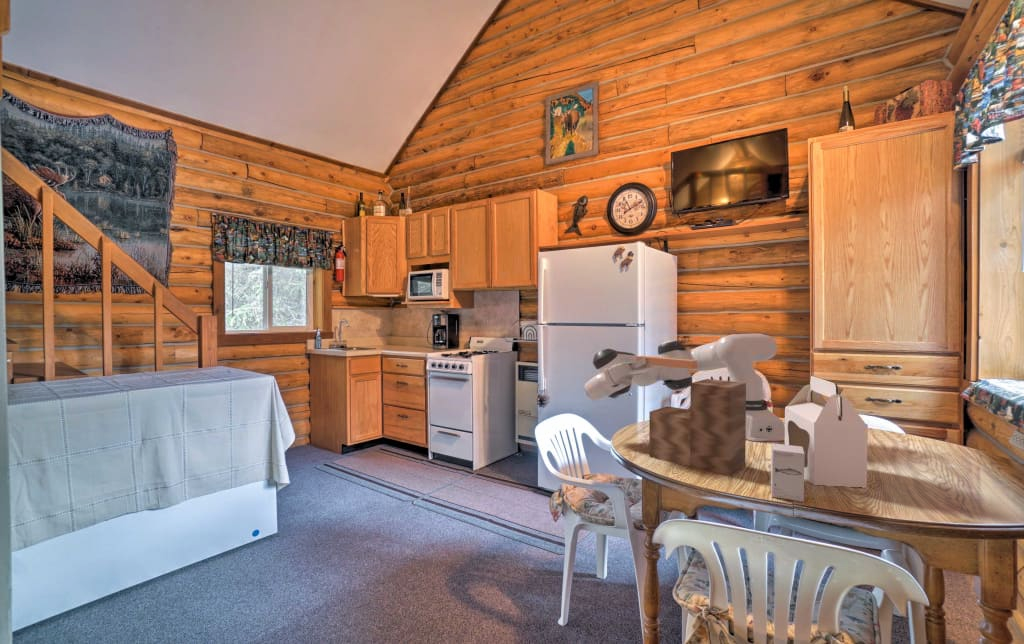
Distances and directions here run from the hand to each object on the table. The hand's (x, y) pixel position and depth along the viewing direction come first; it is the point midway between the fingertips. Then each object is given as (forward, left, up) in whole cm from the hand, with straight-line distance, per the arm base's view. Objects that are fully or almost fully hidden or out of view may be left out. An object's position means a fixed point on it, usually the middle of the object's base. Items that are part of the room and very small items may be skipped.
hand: (650, 359), depth 163 cm
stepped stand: (-13, +11, -32) cm, 36 cm away
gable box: (-46, +18, -32) cm, 59 cm away
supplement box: (-28, +36, -32) cm, 56 cm away
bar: (-4, +4, -2) cm, 6 cm away
